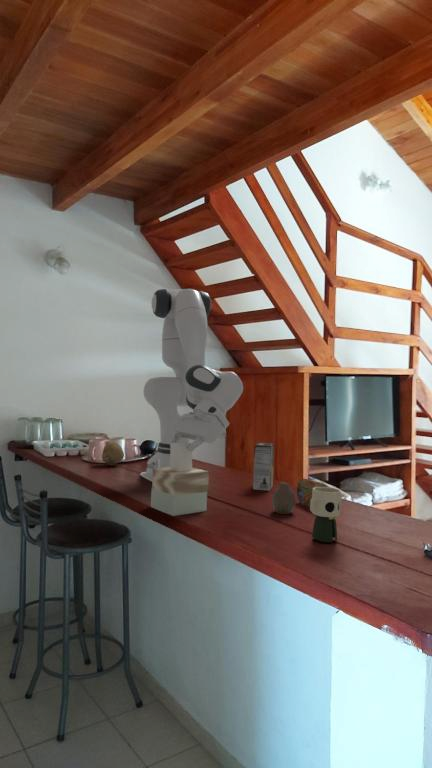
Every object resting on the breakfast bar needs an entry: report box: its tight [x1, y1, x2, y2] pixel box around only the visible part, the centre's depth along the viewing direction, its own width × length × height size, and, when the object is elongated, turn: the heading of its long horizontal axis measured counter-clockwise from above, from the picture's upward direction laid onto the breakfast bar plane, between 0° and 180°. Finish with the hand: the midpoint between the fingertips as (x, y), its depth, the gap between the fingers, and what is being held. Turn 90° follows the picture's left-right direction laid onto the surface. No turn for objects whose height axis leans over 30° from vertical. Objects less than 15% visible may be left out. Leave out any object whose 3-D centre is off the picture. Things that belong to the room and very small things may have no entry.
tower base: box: [150, 487, 208, 517], centre depth 167 cm, size 12×12×6 cm
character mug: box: [309, 486, 343, 543], centre depth 141 cm, size 11×7×13 cm, turn 126°
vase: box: [271, 482, 296, 515], centre depth 168 cm, size 7×7×9 cm
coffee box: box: [252, 442, 275, 492], centre depth 203 cm, size 9×6×16 cm
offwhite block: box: [170, 442, 193, 472], centre depth 168 cm, size 5×4×8 cm
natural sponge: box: [101, 441, 125, 467], centre depth 237 cm, size 9×9×10 cm
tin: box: [296, 478, 328, 508], centre depth 177 cm, size 15×3×8 cm, turn 24°
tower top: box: [151, 466, 210, 496], centre depth 167 cm, size 12×12×6 cm
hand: (180, 447), depth 167 cm, fingers open, 8 cm apart
